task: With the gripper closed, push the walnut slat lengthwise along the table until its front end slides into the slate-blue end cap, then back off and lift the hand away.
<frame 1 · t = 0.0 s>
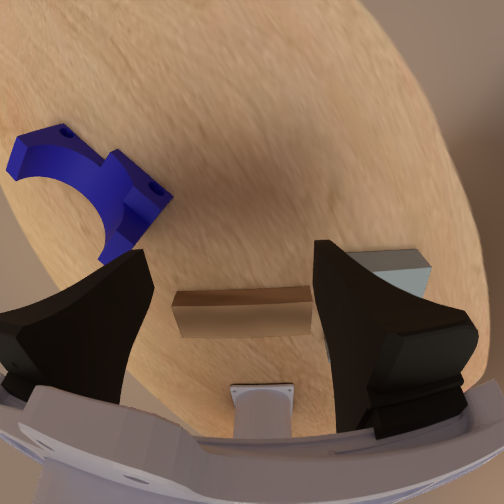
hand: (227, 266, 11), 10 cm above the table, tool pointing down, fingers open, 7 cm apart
end cap: (369, 299, 25), on the table
cable clip: (106, 169, 20), on the table
slat: (243, 303, 26), on the table
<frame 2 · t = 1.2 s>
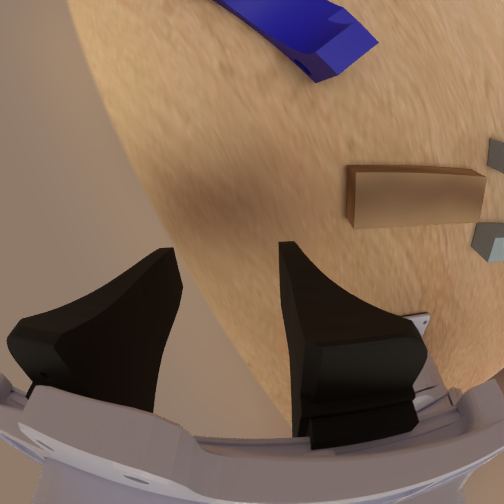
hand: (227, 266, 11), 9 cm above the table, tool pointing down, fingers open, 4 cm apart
cable clip: (272, 7, 13), on the table
slat: (414, 188, 19), on the table
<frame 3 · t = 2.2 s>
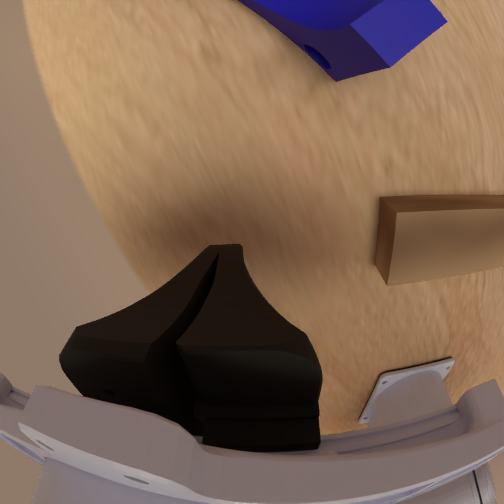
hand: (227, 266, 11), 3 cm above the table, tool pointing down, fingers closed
slat: (458, 223, 14), on the table
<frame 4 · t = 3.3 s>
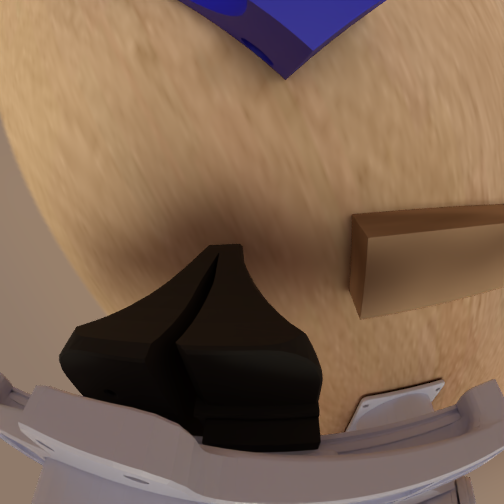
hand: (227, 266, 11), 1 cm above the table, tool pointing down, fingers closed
slat: (451, 238, 12), on the table
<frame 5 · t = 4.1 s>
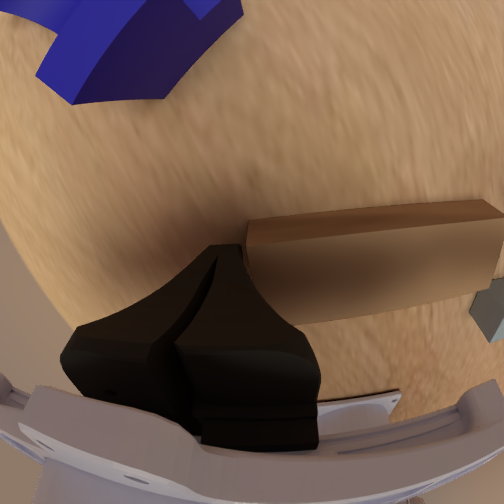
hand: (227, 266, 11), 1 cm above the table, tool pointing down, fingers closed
slat: (382, 243, 12), on the table, touching gripper
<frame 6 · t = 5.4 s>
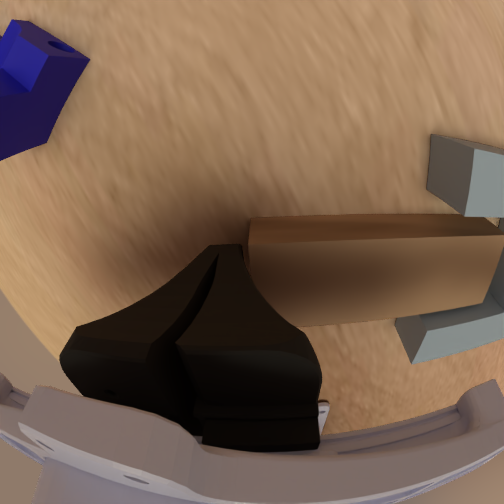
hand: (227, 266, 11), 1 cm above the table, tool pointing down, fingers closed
end cap: (473, 242, 11), on the table
cable clip: (13, 57, 7), on the table
slat: (381, 251, 12), on the table, touching gripper
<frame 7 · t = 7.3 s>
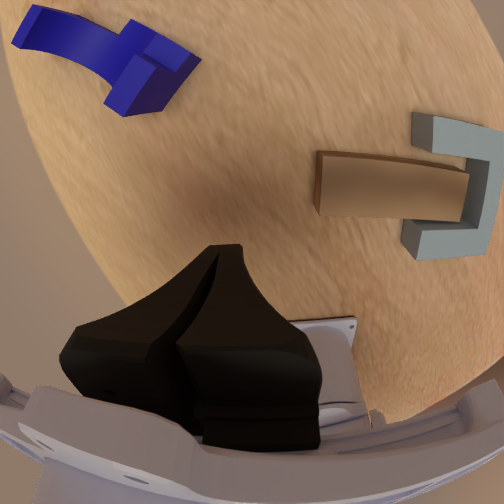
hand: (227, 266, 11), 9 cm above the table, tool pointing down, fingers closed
end cap: (447, 182, 18), on the table
cable clip: (122, 48, 14), on the table
slat: (390, 181, 19), on the table
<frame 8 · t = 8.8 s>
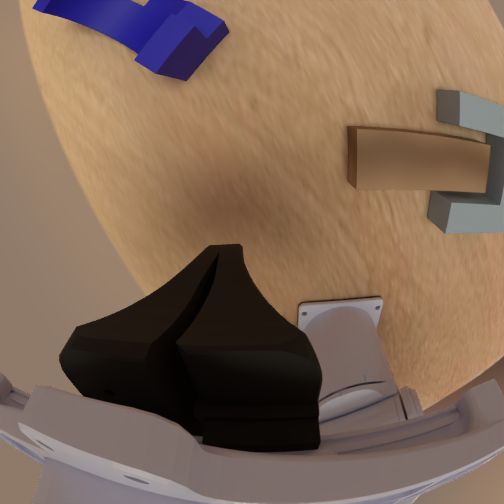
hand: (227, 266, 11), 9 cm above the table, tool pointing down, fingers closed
end cap: (469, 160, 17), on the table
cable clip: (146, 20, 13), on the table
slat: (417, 155, 18), on the table
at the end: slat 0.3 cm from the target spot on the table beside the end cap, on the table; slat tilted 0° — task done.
